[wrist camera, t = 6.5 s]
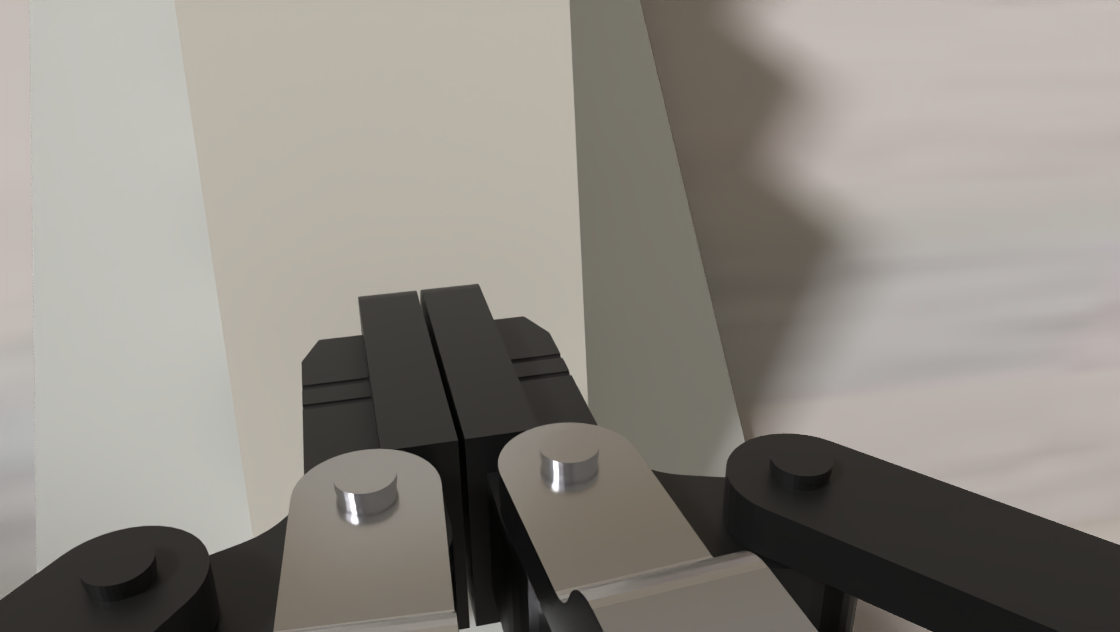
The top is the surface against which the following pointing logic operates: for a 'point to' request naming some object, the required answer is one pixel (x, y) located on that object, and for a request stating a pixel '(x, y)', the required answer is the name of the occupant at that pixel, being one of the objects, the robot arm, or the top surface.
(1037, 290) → the top surface
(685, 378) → the mat
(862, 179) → the top surface
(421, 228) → the domino
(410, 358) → the robot arm
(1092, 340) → the top surface
